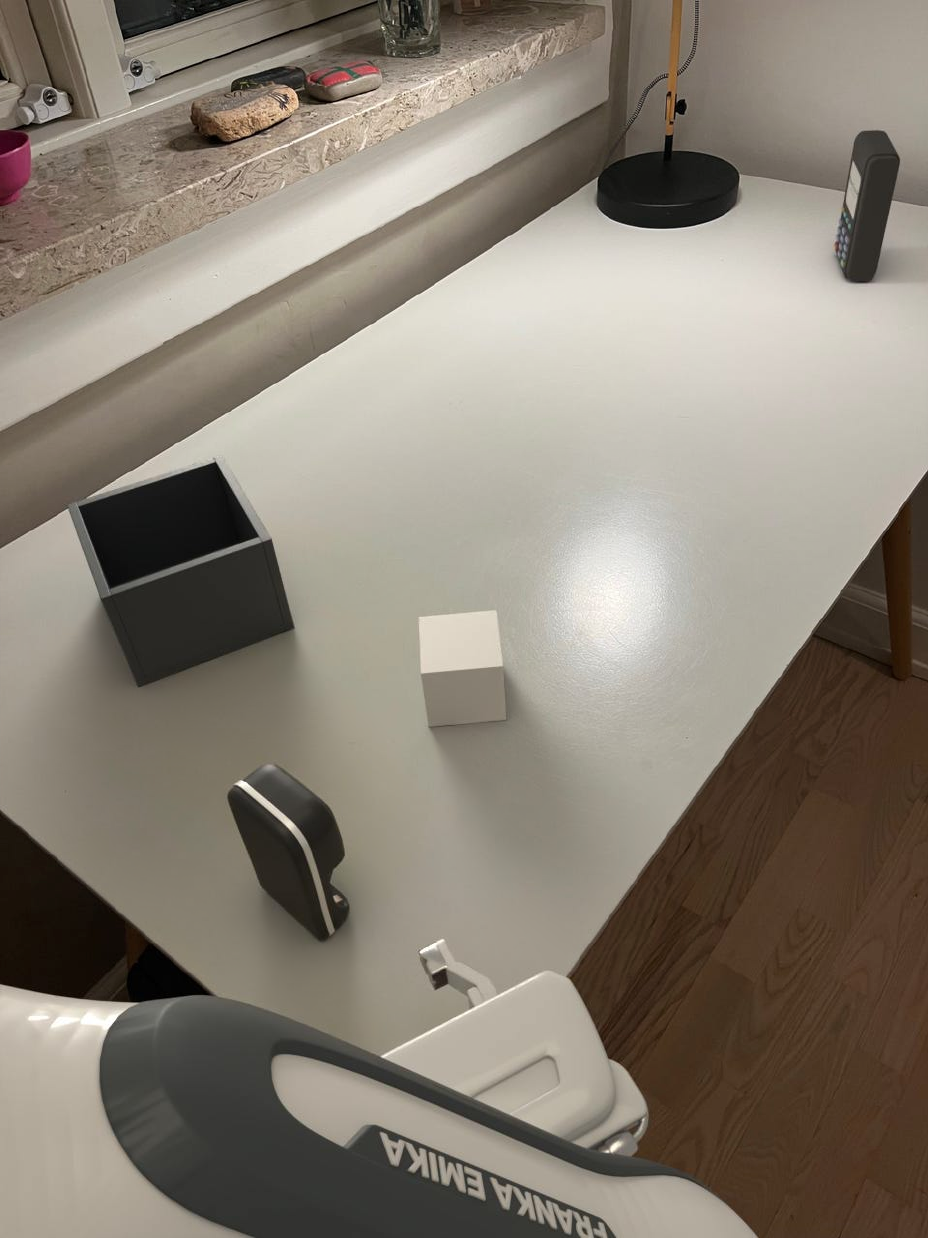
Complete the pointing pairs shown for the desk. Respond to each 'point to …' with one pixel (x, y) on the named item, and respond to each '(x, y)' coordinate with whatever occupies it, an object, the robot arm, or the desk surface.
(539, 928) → the desk surface
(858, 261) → the card reader
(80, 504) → the trash bin
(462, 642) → the white cube
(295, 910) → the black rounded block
